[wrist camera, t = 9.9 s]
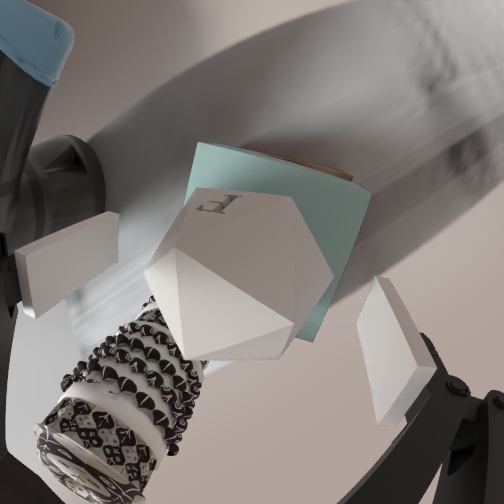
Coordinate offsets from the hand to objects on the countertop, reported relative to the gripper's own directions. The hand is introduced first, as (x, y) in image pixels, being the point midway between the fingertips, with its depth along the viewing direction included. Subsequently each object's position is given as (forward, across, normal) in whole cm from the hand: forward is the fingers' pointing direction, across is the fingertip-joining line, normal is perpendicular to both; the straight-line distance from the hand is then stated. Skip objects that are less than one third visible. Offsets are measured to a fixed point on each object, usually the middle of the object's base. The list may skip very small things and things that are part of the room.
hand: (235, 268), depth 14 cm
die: (+4, 0, 0) cm, 4 cm away
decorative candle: (+16, -6, -12) cm, 21 cm away
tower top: (+10, +1, 0) cm, 10 cm away
